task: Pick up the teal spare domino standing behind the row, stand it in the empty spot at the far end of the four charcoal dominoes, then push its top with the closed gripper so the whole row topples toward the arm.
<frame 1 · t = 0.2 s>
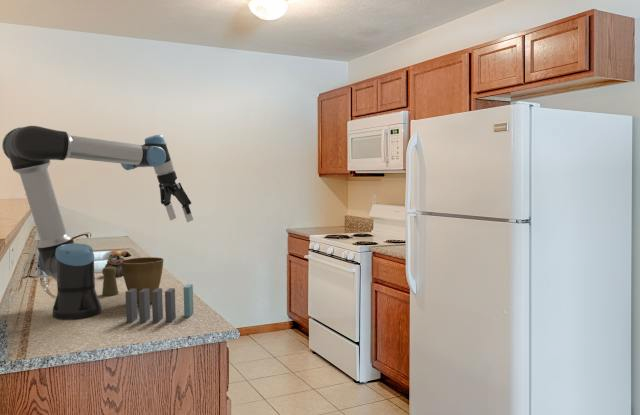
hand: (181, 220, 222), 28 cm above the worktop, tool tilted 20°, fingers open, 13 cm apart
domino 1: (189, 315, 177), on the worktop
plant pot: (143, 303, 194), on the worktop
domino 4: (145, 320, 171), on the worktop
domino 3: (157, 320, 171), on the worktop
domino 5: (132, 320, 171), on the worktop
cork: (110, 294, 208), on the worktop
domino 2: (170, 320, 171), on the worktop
cupcake: (116, 276, 245), on the worktop
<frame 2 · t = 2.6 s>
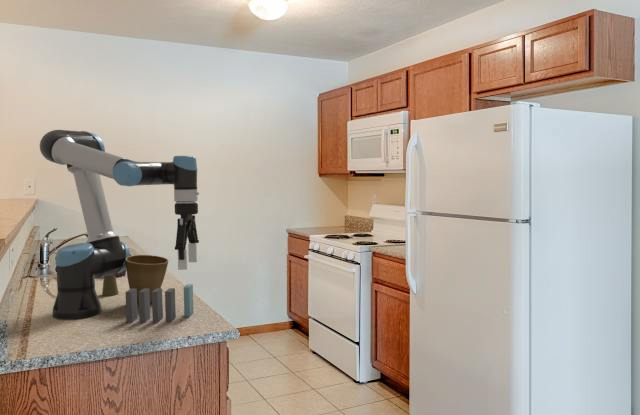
hand: (187, 265, 176), 17 cm above the worktop, tool pointing down, fingers open, 13 cm apart
plant pot: (143, 301, 194), on the worktop, touching arm
everything else where it was.
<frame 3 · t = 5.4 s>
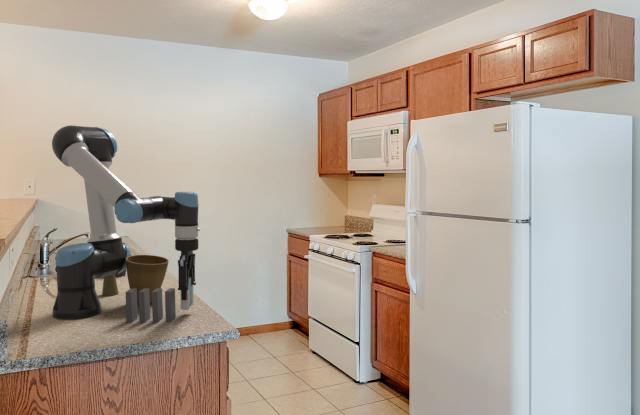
hand: (187, 306, 177), 3 cm above the worktop, tool pointing down, fingers closed on domino 1, 5 cm apart
domino 1: (186, 307, 177), point 2 cm above the worktop, touching gripper
everything else where it was.
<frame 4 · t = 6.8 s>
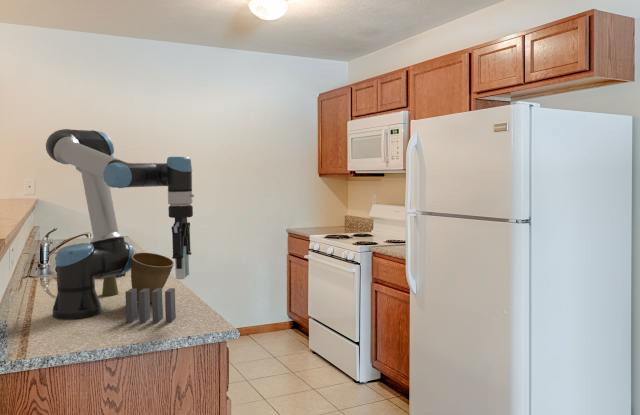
hand: (182, 276, 170), 14 cm above the worktop, tool pointing down, fingers closed on domino 1, 5 cm apart
domino 1: (182, 277, 170), point 14 cm above the worktop, touching gripper
plant pot: (143, 300, 194), point 1 cm above the worktop
everything else where it was.
when the fingers open (1 cm above the worktop, at t = 9.4 s): domino 1 stays where it is, on the worktop.
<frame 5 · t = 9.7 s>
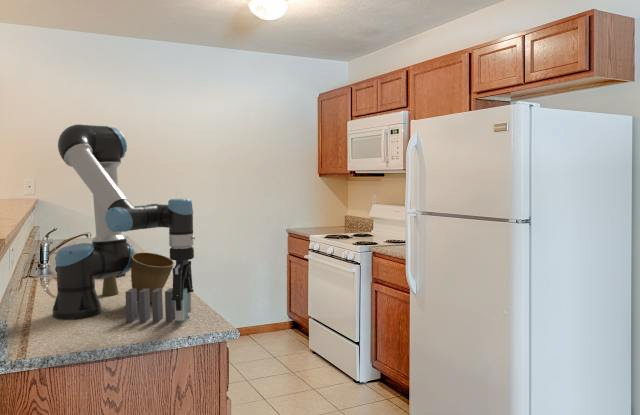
hand: (183, 315, 171), 1 cm above the worktop, tool pointing down, fingers open, 8 cm apart
domino 1: (183, 320, 171), on the worktop
plant pot: (143, 300, 194), point 1 cm above the worktop, touching arm
everything else where it was.
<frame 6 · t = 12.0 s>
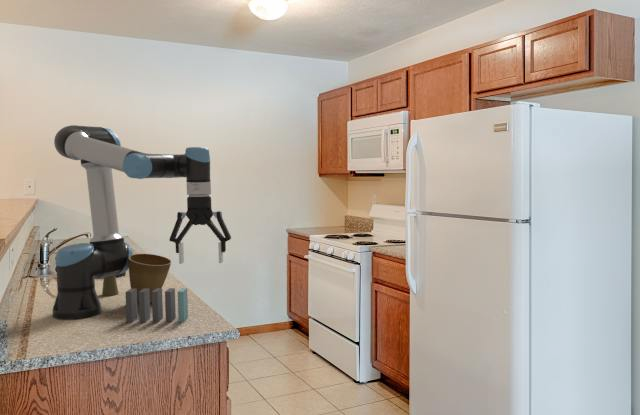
hand: (201, 262, 169), 19 cm above the worktop, tool pointing down, fingers open, 12 cm apart
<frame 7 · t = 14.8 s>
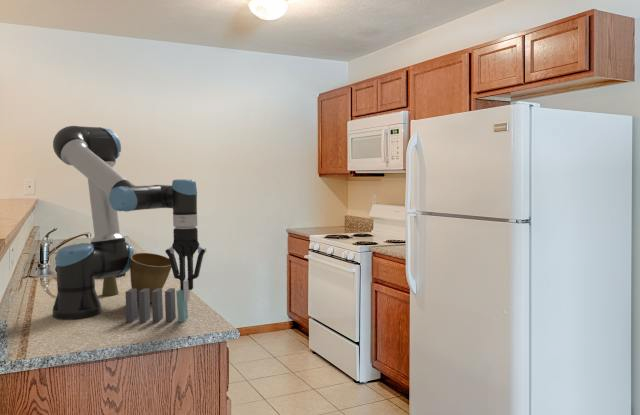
hand: (187, 299, 170), 7 cm above the worktop, tool pointing down, fingers closed
domino 1: (183, 320, 171), on the worktop, touching gripper
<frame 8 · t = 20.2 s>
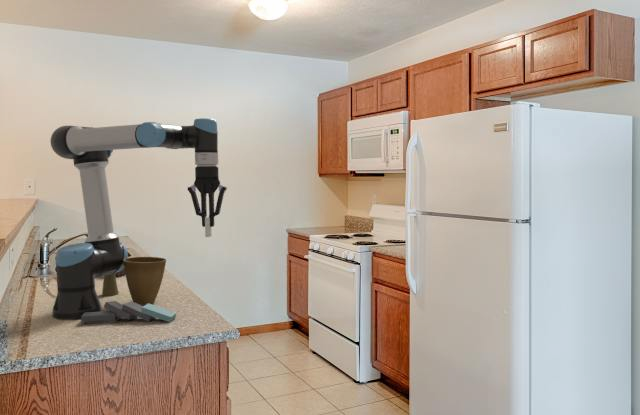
hand: (208, 236, 176), 26 cm above the worktop, tool pointing down, fingers closed
domino 1: (173, 317, 171), point 1 cm above the worktop, tilted 72°, touching domino 2
domino 4: (116, 314, 171), point 2 cm above the worktop, tilted 90°, touching domino 3, domino 5
domino 3: (133, 316, 171), point 1 cm above the worktop, tilted 70°, touching domino 4
domino 5: (117, 320, 171), on the worktop, tilted 90°, touching domino 4
domino 2: (153, 317, 171), point 1 cm above the worktop, tilted 69°, touching domino 1
at the end: domino 5 tilted 90°; domino 3 tilted 71°; domino 1 tilted 72° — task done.
